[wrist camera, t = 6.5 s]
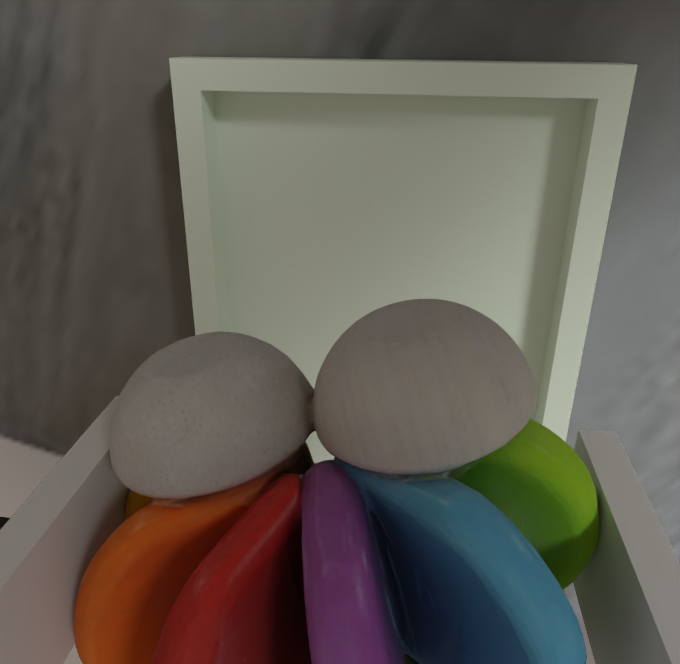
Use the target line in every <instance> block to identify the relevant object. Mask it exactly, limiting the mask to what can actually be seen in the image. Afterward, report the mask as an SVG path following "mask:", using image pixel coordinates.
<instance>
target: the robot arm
mask: <svg viewBox="0 0 680 664" xmlns="http://www.w3.org/2000/svg"><path fill="white" fill-rule="evenodd" d="M118 398H119V396H116V397H115V398H114V399H113V400H112V401H111V402H110V403H109V405H108V406H107V407H106V408H105V409H104V410H103V412H102V413H101V414H100V415H99V416H98V417H97V419H96V420H95V421H94V422H93V423H92V424H91V425H90V427H89V428H88V429H87V430H86V431H85V432H84V434H83V435H82V436H81V437H80V438H79V439H78V440H77V442H76V443H75V444H74V445H73V446H72V447H71V449H70V450H69V451H68V452H67V453H66V454H65V456H64V457H63V458H62V459H61V460H60V461H59V462H58V464H57V465H56V466H55V467H54V468H53V469H52V471H51V472H50V473H49V474H48V475H47V476H46V478H45V479H44V480H43V481H42V482H41V483H40V485H39V486H38V487H37V488H36V489H35V490H34V491H33V492H32V494H31V495H30V496H29V497H28V498H27V499H26V501H25V502H24V503H23V504H22V505H21V507H20V508H19V509H18V510H17V511H16V512H15V513H14V514H13V516H12V517H11V518H6V517H0V664H63V663H64V661H65V659H66V657H67V656H68V654H69V652H70V651H71V649H72V647H73V646H74V644H75V637H74V612H75V604H76V600H77V596H78V592H79V588H80V584H81V582H82V579H83V576H84V574H85V571H86V569H87V568H88V566H89V564H90V562H91V560H92V559H93V557H94V556H95V554H96V553H97V551H98V550H99V549H100V548H101V546H102V545H103V544H104V542H105V541H106V540H107V539H108V537H109V536H110V535H111V534H112V533H113V532H114V531H115V530H116V529H117V528H118V527H119V526H120V525H121V524H122V523H123V522H124V521H125V507H126V503H127V499H128V495H129V492H130V489H129V488H127V487H126V486H125V485H124V484H123V483H122V482H121V481H120V480H119V479H118V477H117V476H116V474H115V472H114V470H113V467H112V464H111V458H110V450H109V432H110V425H111V419H112V415H113V411H114V407H115V405H116V402H117V400H118ZM574 451H575V452H576V453H577V455H578V456H579V457H580V459H581V460H582V461H583V463H584V464H585V466H586V468H587V469H588V471H589V474H590V476H591V478H592V480H593V483H594V485H595V488H596V494H597V501H598V509H599V519H600V530H599V538H598V543H597V546H596V549H595V551H594V553H593V556H592V557H591V559H590V561H589V563H588V565H587V566H586V567H585V569H584V570H583V571H582V572H581V574H580V575H579V576H578V577H577V578H576V579H575V580H574V581H573V583H574V587H575V591H576V594H577V598H578V602H579V605H580V609H581V612H582V616H583V620H584V623H585V627H586V630H587V634H588V638H589V642H590V645H591V649H592V652H593V656H594V659H595V663H596V664H680V562H679V560H678V558H677V556H676V554H675V552H674V550H673V548H672V546H671V544H670V542H669V540H668V538H667V536H666V534H665V532H664V530H663V527H662V525H661V523H660V521H659V519H658V517H657V515H656V513H655V511H654V509H653V507H652V505H651V503H650V501H649V499H648V497H647V495H646V493H645V491H644V489H643V487H642V485H641V482H640V480H639V478H638V476H637V474H636V472H635V470H634V468H633V466H632V464H631V462H630V460H629V458H628V456H627V454H626V452H625V450H624V448H623V446H622V444H621V442H620V440H619V438H618V435H617V433H616V432H609V431H595V430H582V429H579V430H578V435H577V440H576V445H575V450H574Z"/></svg>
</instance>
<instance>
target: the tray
mask: <svg viewBox="0 0 680 664" xmlns="http://www.w3.org/2000/svg"><path fill="white" fill-rule="evenodd" d="M169 63H170V73H171V84H172V94H173V105H174V115H175V126H176V136H177V147H178V157H179V168H180V178H181V189H182V199H183V210H184V220H185V231H186V241H187V252H188V262H189V273H190V283H191V294H192V304H193V315H194V325H195V335H199V334H204V333H209V332H217V331H222V332H234V333H240V334H245V335H249V336H252V337H255V338H257V339H260V340H262V341H265V342H267V343H269V344H271V345H273V346H274V347H276V348H277V349H279V350H280V351H281V352H283V353H284V354H286V355H287V356H288V357H289V358H290V359H291V360H292V361H293V362H294V363H295V365H296V366H297V367H298V368H299V369H300V370H301V372H302V373H303V374H304V376H305V377H306V378H307V380H308V381H309V383H310V384H311V386H312V387H313V388H314V389H315V384H316V379H317V375H318V373H319V370H320V368H321V366H322V364H323V362H324V359H325V357H326V356H327V354H328V353H329V351H330V349H331V348H332V346H333V345H334V343H335V342H336V341H337V340H338V339H339V337H340V336H341V335H342V334H343V333H344V332H345V331H346V330H347V329H348V328H349V327H350V326H351V325H352V324H354V323H355V322H356V321H357V320H359V319H360V318H362V317H363V316H365V315H367V314H368V313H370V312H372V311H374V310H376V309H378V308H381V307H384V306H386V305H389V304H393V303H396V302H400V301H405V300H412V299H440V300H447V301H452V302H455V303H459V304H462V305H465V306H468V307H470V308H472V309H474V310H476V311H478V312H480V313H482V314H484V315H485V316H487V317H489V318H490V319H491V320H493V321H494V322H496V323H497V324H498V325H499V326H500V327H502V328H503V329H504V330H505V331H506V332H507V333H508V334H509V335H510V337H511V338H512V339H513V340H514V341H515V343H516V344H517V345H518V347H519V348H520V350H521V351H522V353H523V354H524V356H525V358H526V360H527V362H528V364H529V366H530V369H531V371H532V373H533V376H534V378H535V381H536V389H537V396H536V404H535V408H534V411H533V413H532V415H531V417H530V419H532V420H534V421H536V422H538V423H540V424H541V425H543V426H545V427H546V428H548V429H549V430H551V431H552V432H554V433H555V434H556V435H558V436H559V437H560V438H561V439H563V440H564V441H566V436H567V431H568V426H569V421H570V415H571V410H572V405H573V400H574V394H575V389H576V384H577V379H578V374H579V368H580V363H581V358H582V353H583V348H584V342H585V337H586V332H587V327H588V321H589V316H590V311H591V306H592V301H593V295H594V290H595V285H596V280H597V275H598V269H599V264H600V259H601V254H602V248H603V243H604V238H605V233H606V228H607V222H608V217H609V212H610V207H611V202H612V196H613V191H614V186H615V181H616V175H617V170H618V165H619V160H620V155H621V149H622V144H623V139H624V134H625V129H626V123H627V118H628V113H629V108H630V102H631V97H632V92H633V87H634V82H635V76H636V71H637V66H638V65H635V64H627V63H614V62H545V61H476V60H407V59H339V58H270V57H201V56H187V57H174V58H169ZM305 442H306V443H307V445H308V448H309V451H310V453H311V456H312V459H313V461H314V463H319V462H321V461H325V460H334V457H335V456H333V455H331V454H330V453H329V452H328V451H327V450H326V449H325V448H324V446H323V445H322V444H321V442H320V440H319V438H318V436H317V433H316V431H314V432H313V433H311V434H310V435H309V437H308V438H307V440H306V441H305Z"/></svg>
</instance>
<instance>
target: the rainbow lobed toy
mask: <svg viewBox="0 0 680 664" xmlns="http://www.w3.org/2000/svg"><path fill="white" fill-rule="evenodd" d="M536 396H537V389H536V381H535V378H534V376H533V373H532V371H531V369H530V366H529V364H528V362H527V360H526V358H525V356H524V354H523V353H522V351H521V350H520V348H519V347H518V345H517V344H516V343H515V341H514V340H513V339H512V338H511V337H510V335H509V334H508V333H507V332H506V331H505V330H504V329H503V328H502V327H500V326H499V325H498V324H497V323H496V322H494V321H493V320H491V319H490V318H489V317H487V316H485V315H484V314H482V313H480V312H478V311H476V310H474V309H472V308H470V307H468V306H465V305H462V304H459V303H455V302H452V301H447V300H440V299H412V300H405V301H400V302H396V303H393V304H389V305H386V306H384V307H381V308H378V309H376V310H374V311H372V312H370V313H368V314H367V315H365V316H363V317H362V318H360V319H359V320H357V321H356V322H355V323H354V324H352V325H351V326H350V327H349V328H348V329H347V330H346V331H345V332H344V333H343V334H342V335H341V336H340V337H339V339H338V340H337V341H336V342H335V343H334V345H333V346H332V348H331V349H330V351H329V353H328V354H327V356H326V357H325V359H324V362H323V364H322V366H321V368H320V370H319V373H318V375H317V379H316V384H315V389H314V388H313V387H312V386H311V384H310V383H309V381H308V380H307V378H306V377H305V376H304V374H303V373H302V372H301V370H300V369H299V368H298V367H297V366H296V365H295V363H294V362H293V361H292V360H291V359H290V358H289V357H288V356H287V355H286V354H284V353H283V352H281V351H280V350H279V349H277V348H276V347H274V346H273V345H271V344H269V343H267V342H265V341H262V340H260V339H257V338H255V337H252V336H249V335H245V334H240V333H234V332H222V331H217V332H209V333H204V334H199V335H195V336H191V337H187V338H185V339H182V340H179V341H176V342H174V343H172V344H170V345H168V346H166V347H164V348H162V349H160V350H158V351H157V352H155V353H154V354H153V355H151V356H150V357H149V358H147V359H146V360H145V361H144V362H143V363H142V364H141V365H140V366H139V367H138V369H137V370H136V371H135V372H134V374H133V375H132V376H131V377H130V379H129V380H128V382H127V383H126V385H125V386H124V388H123V390H122V391H121V393H120V396H119V398H118V400H117V402H116V405H115V407H114V411H113V415H112V419H111V425H110V432H109V450H110V458H111V464H112V467H113V470H114V472H115V474H116V476H117V477H118V479H119V480H120V481H121V482H122V483H123V484H124V485H125V486H126V487H127V488H129V489H130V492H129V495H128V499H127V503H126V507H125V521H124V522H123V523H122V524H121V525H120V526H119V527H118V528H117V529H116V530H115V531H114V532H113V533H112V534H111V535H110V536H109V537H108V539H107V540H106V541H105V542H104V544H103V545H102V546H101V548H100V549H99V550H98V551H97V553H96V554H95V556H94V557H93V559H92V560H91V562H90V564H89V566H88V568H87V569H86V571H85V574H84V576H83V579H82V582H81V584H80V588H79V592H78V596H77V600H76V604H75V612H74V637H75V644H76V648H77V651H78V654H79V657H80V659H81V661H82V663H83V664H586V659H587V655H586V647H585V643H584V639H583V634H582V632H581V629H580V626H579V623H578V620H577V617H576V615H575V613H574V611H573V609H572V607H571V605H570V603H569V601H568V599H567V597H566V595H565V593H564V590H563V589H564V588H566V587H567V586H569V585H570V584H571V583H572V582H573V581H574V580H575V579H576V578H577V577H578V576H579V575H580V574H581V572H582V571H583V570H584V569H585V567H586V566H587V565H588V563H589V561H590V559H591V557H592V556H593V553H594V551H595V549H596V546H597V543H598V538H599V530H600V519H599V509H598V501H597V494H596V488H595V485H594V483H593V480H592V478H591V476H590V474H589V471H588V469H587V468H586V466H585V464H584V463H583V461H582V460H581V459H580V457H579V456H578V455H577V453H576V452H575V451H574V450H573V449H572V448H571V447H570V446H569V445H568V444H567V443H566V442H565V441H564V440H563V439H561V438H560V437H559V436H558V435H556V434H555V433H554V432H552V431H551V430H549V429H548V428H546V427H545V426H543V425H541V424H540V423H538V422H536V421H534V420H532V419H530V417H531V415H532V413H533V411H534V408H535V404H536ZM314 431H316V433H317V436H318V438H319V440H320V442H321V444H322V445H323V446H324V448H325V449H326V450H327V451H328V452H329V453H330V454H331V455H333V456H335V457H334V460H325V461H321V462H319V463H317V464H315V465H314V461H313V459H312V456H311V453H310V451H309V448H308V445H307V443H306V442H305V441H306V440H307V438H308V437H309V435H310V434H311V433H313V432H314Z"/></svg>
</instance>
